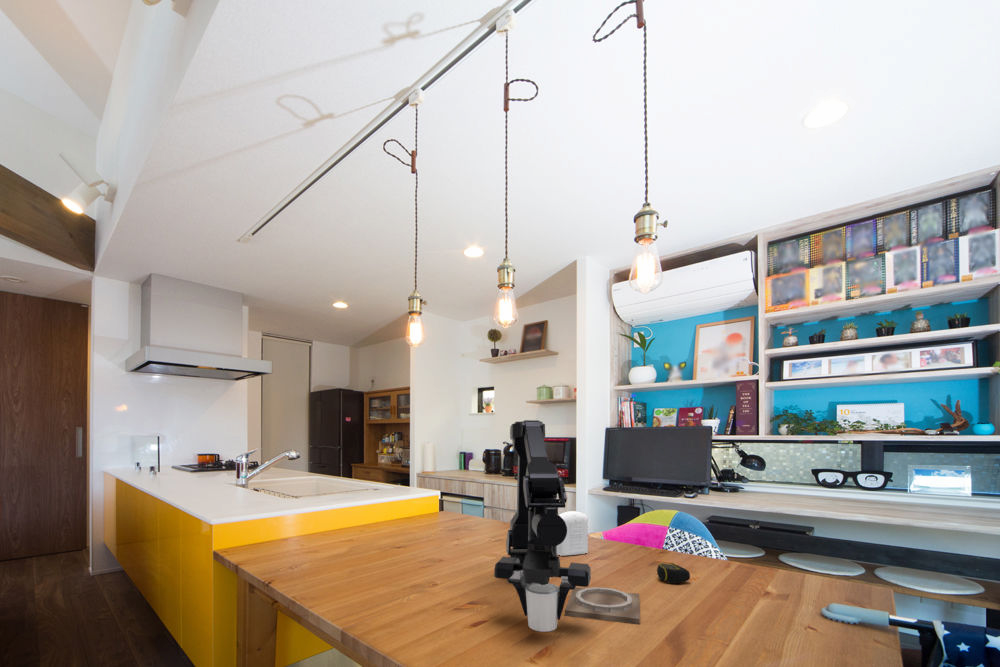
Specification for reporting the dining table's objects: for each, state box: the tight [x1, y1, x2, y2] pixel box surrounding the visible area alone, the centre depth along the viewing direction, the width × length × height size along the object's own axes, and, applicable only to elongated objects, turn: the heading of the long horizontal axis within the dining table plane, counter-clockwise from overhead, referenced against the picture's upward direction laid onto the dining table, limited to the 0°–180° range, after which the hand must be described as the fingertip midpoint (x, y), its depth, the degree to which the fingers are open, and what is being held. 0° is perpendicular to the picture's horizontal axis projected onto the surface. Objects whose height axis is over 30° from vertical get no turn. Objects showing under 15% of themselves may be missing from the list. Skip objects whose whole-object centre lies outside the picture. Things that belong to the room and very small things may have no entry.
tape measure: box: [656, 562, 691, 584], centre depth 126 cm, size 7×7×4 cm
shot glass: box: [526, 582, 559, 633], centre depth 98 cm, size 7×7×7 cm
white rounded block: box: [557, 510, 589, 557], centre depth 150 cm, size 10×4×12 cm, turn 114°
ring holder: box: [564, 586, 641, 625], centre depth 107 cm, size 15×15×2 cm
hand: (542, 617), depth 97 cm, fingers closed on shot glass, 6 cm apart
